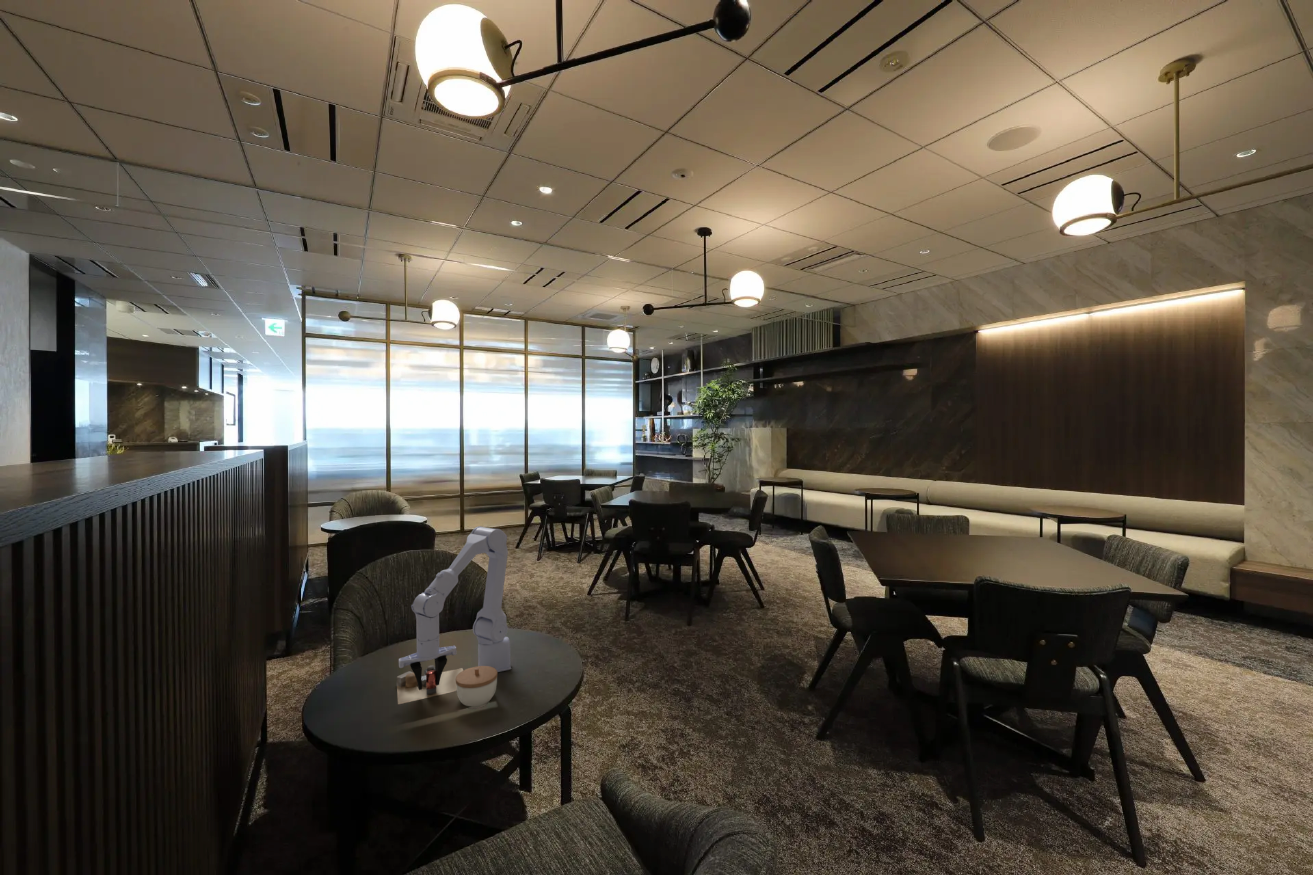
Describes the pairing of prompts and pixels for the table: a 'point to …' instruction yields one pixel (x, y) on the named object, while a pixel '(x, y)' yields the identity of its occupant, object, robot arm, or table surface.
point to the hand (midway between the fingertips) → (428, 685)
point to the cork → (411, 680)
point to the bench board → (413, 694)
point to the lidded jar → (476, 686)
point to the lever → (429, 681)
